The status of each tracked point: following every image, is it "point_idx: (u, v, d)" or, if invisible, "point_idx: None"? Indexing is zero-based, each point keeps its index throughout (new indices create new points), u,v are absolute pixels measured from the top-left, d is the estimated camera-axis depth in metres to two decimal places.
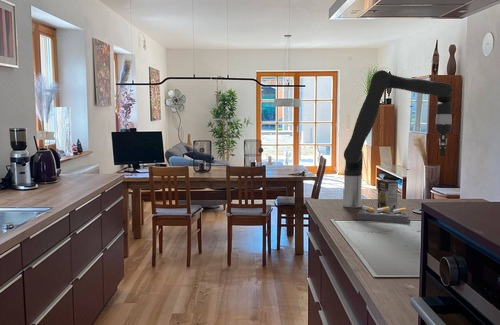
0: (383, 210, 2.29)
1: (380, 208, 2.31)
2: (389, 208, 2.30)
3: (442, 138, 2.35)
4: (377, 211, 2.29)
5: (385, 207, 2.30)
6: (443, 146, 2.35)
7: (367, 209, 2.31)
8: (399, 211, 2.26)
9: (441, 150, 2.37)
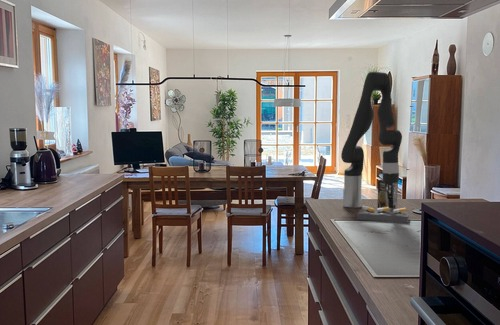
0: (383, 210, 2.29)
1: (380, 208, 2.31)
2: (389, 208, 2.30)
3: (389, 193, 2.23)
4: (377, 211, 2.29)
5: (385, 207, 2.30)
6: (390, 198, 2.25)
7: (367, 209, 2.31)
8: (399, 211, 2.26)
9: (389, 202, 2.28)
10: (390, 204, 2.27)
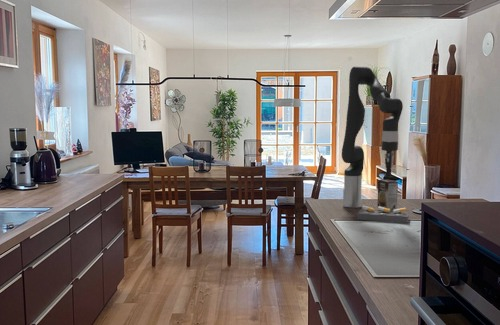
0: (383, 210, 2.29)
1: (381, 207, 2.31)
2: None
3: (387, 161, 2.24)
4: None
5: (386, 208, 2.30)
6: (388, 166, 2.26)
7: (367, 209, 2.31)
8: (399, 211, 2.26)
9: (387, 170, 2.29)
10: (388, 172, 2.29)
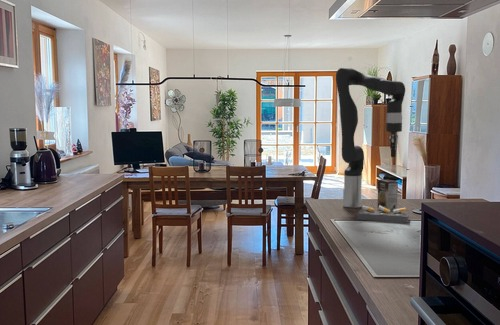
0: (383, 210, 2.29)
1: None
2: None
3: (391, 142, 2.32)
4: (378, 207, 2.29)
5: (386, 209, 2.30)
6: (393, 147, 2.34)
7: (367, 209, 2.31)
8: (399, 211, 2.26)
9: (391, 151, 2.36)
10: (392, 153, 2.36)
